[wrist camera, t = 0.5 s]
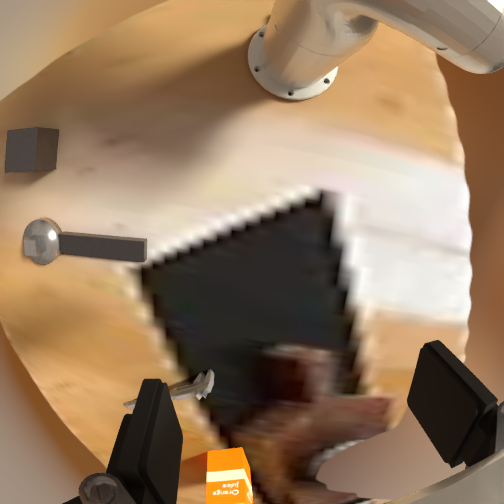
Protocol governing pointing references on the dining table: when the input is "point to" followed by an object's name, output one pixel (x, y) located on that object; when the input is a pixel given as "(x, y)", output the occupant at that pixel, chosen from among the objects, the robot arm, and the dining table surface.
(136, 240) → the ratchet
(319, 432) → the dining table surface
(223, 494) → the orange juice
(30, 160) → the grey stone cube
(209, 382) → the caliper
